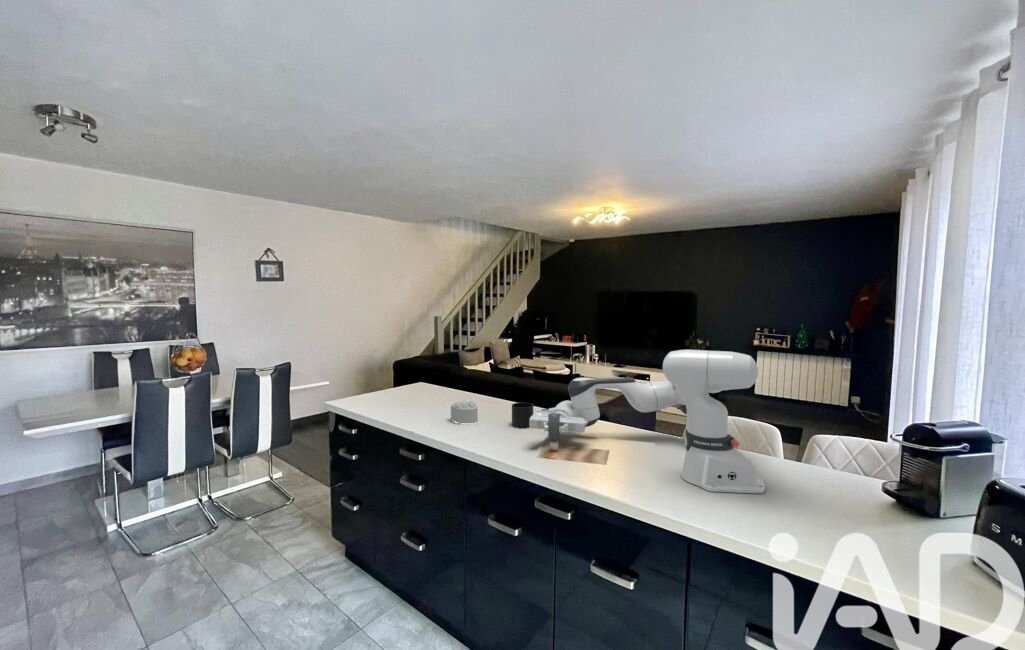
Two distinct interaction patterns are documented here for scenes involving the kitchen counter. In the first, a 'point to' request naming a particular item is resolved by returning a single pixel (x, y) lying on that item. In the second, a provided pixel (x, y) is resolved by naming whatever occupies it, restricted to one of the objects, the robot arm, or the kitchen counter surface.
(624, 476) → the kitchen counter surface
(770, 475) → the kitchen counter surface
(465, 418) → the lumpy-topped squat cylinder
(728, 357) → the robot arm
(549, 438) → the round-topped grey cylinder
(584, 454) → the board
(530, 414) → the mug
